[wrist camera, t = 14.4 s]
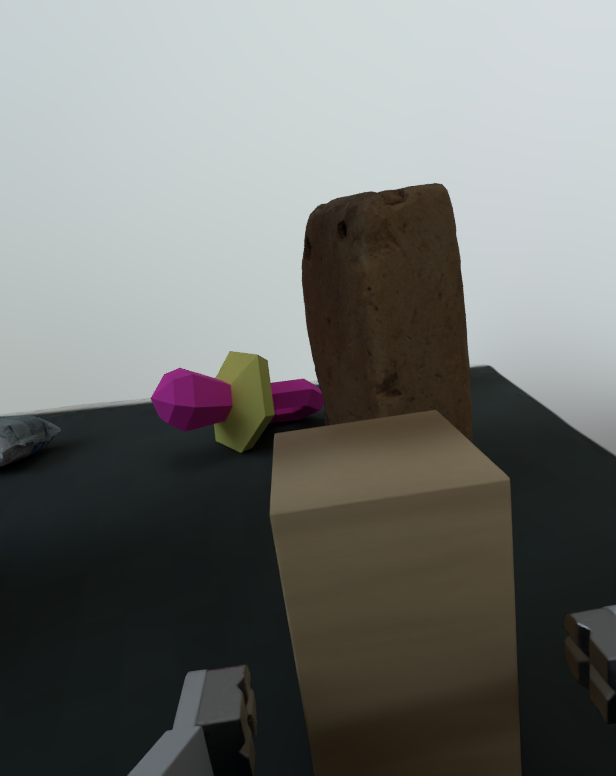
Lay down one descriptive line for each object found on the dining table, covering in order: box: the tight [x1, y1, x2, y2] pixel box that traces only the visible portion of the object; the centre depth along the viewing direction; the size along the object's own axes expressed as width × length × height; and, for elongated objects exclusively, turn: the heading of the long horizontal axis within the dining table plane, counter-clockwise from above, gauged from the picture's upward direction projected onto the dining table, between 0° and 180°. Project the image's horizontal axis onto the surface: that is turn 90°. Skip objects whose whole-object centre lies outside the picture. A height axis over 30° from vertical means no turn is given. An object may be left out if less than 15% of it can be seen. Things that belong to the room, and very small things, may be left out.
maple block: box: [270, 410, 521, 776], centre depth 15 cm, size 6×6×11 cm
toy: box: [151, 351, 324, 453], centre depth 48 cm, size 10×18×10 cm, turn 126°
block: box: [302, 183, 472, 443], centre depth 33 cm, size 11×8×20 cm
